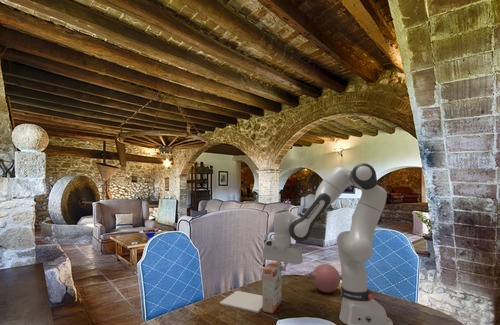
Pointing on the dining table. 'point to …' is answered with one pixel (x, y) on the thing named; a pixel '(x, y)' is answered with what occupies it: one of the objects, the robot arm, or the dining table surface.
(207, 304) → the dining table surface
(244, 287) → the dining table surface
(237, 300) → the limestone tile
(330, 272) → the balloon
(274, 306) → the cracker box
